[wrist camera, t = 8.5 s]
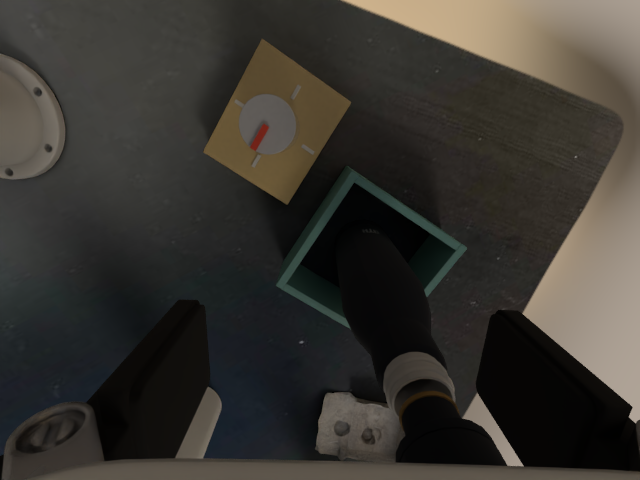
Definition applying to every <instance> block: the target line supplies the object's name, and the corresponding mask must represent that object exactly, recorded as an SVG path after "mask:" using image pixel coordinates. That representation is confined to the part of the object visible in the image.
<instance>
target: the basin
mask: <svg viewBox="0 0 640 480" xmlns="http://www.w3.org/2000/svg"><path fill="white" fill-rule="evenodd" d="M354 182H355V183H356V184H357V185H359V186H360V187H362V188H363V189H365V190H366V191H368V192H369V193H371V194H372V195H374V196H375V197H377V198H378V199H380V200H381V201H383V202H384V203H386V204H387V205H389V206H390V207H392V208H393V209H395V210H396V211H398V212H399V213H401V214H402V215H404V216H405V217H407V218H408V219H410V220H411V221H413V222H414V223H416V224H417V225H419V226H420V227H422V228H423V229H425V230H426V231H428V232H429V233H431V234H430V235H429V236H428V238H427V239H426V240H425V241H424V243H423V244H422V245H421V247H420V248H419V249H418V250H417V252H416V253H415V254H414V256H413V257H412V258H411V259H410V261H409V262H408V263H407V264H408V265H409V266H410V268H411V269H412V271H413V272H414V273H415V275H416V276H417V277H418V279H419V280H420V282H421V283H422V285H423V288H424V291H425V294H426V297H427V296H428V295H429V294H430V293H431V292H432V290H433V289H434V288H435V287H436V285H437V284H438V283H439V282H440V281H441V279H442V278H443V277H444V276H445V275H446V273H447V272H448V271H449V270H450V269H451V267H452V266H453V265H454V264H455V263H456V261H457V260H458V259H459V258H460V256H461V255H462V254H463V253H464V252H465V250H466V249H467V247H465V246H464V245H463V244H461V243H460V242H458V241H457V240H456V239H454V238H453V237H451V236H450V235H449V234H447V233H446V232H444V231H443V230H442V229H440V228H439V227H437V226H436V225H434V224H433V223H431V222H430V221H428V220H427V219H425V218H424V217H422V216H421V215H419V214H418V213H416V212H415V211H414V210H412V209H411V208H409V207H408V206H406V205H405V204H403V203H402V202H400V201H399V200H397V199H396V198H394V197H393V196H391V195H390V194H388V193H387V192H385V191H384V190H382V189H381V188H379V187H378V186H377V185H375V184H374V183H372V182H371V181H369V180H368V179H366V178H365V177H363V176H362V175H360V174H359V173H357V172H356V171H354V170H353V169H351V168H350V167H348V166H347V165H346V166H345V168H344V170H343V171H342V173H341V174H340V176H339V177H338V179H337V180H336V182H335V183H334V185H333V186H332V188H331V189H330V191H329V192H328V194H327V195H326V197H325V198H324V200H323V201H322V203H321V205H320V206H319V208H318V209H317V211H316V212H315V214H314V215H313V217H312V218H311V220H310V221H309V223H308V224H307V226H306V227H305V229H304V230H303V232H302V233H301V235H300V237H299V238H298V240H297V241H296V243H295V244H294V246H293V247H292V249H291V250H290V252H289V253H288V255H287V256H286V258H285V259H284V261H283V264H282V267H281V270H280V273H279V276H278V280H277V283H276V286H277V287H279V288H281V289H282V290H284V291H286V292H287V293H289V294H291V295H293V296H294V297H296V298H298V299H299V300H301V301H303V302H305V303H306V304H308V305H310V306H312V307H313V308H315V309H317V310H318V311H320V312H322V313H324V314H325V315H327V316H329V317H330V318H332V319H334V320H336V321H337V322H339V323H341V324H343V325H344V326H346V327H348V328H349V329H350V326H349V324H348V322H347V320H346V317H345V315H344V313H343V308H342V300H341V293H340V288H339V287H337V286H336V285H334V284H332V283H331V282H329V281H327V280H326V279H324V278H322V277H321V276H319V275H317V274H316V273H314V272H312V271H311V270H309V269H307V268H306V267H304V266H302V265H301V264H300V262H301V261H302V259H303V258H304V256H305V255H306V253H307V252H308V250H309V249H310V247H311V246H312V244H313V243H314V242H315V240H316V239H317V237H318V236H319V234H320V233H321V231H322V230H323V228H324V227H325V225H326V224H327V222H328V221H329V219H330V218H331V216H332V215H333V213H334V212H335V210H336V209H337V207H338V206H339V204H340V203H341V201H342V200H343V199H344V197H345V196H346V194H347V193H348V191H349V190H350V188H351V187H352V185H353V184H354Z"/></svg>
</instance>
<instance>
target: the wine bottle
mask: <svg viewBox="0 0 640 480" xmlns="http://www.w3.org/2000/svg"><path fill="white" fill-rule="evenodd" d="M335 255H336V262H337V270H338V278H339V285H340V293H341V300H342V308H343V313H344V315H345V317H346V320H347V322H348V324H349V326H350V329H351V331H352V332H353V334H354V336H355V338H356V339H357V340H358V341H359V343H360V344H361V345H362V346H363V347H364V348H365V349H366V350H367V352H368V353H369V354H370V355H371V357H372V361H373V365H374V370H375V374H376V378H377V381H378V383H379V386H380V388H381V389H382V390H383V392H384V393H385V395H386V401H387V404H388V406H389V408H390V410H391V411H392V412H393V413H394V415H395V417H396V418H397V419H398V420H399V422H400V425H401V427H402V430H403V431H404V433H405V437H404V438H403V439H402V440H401V441H400V443H399V446H398V448H397V450H396V463H426V464H461V465H492V466H507V464H506V462H505V461H504V459H503V457H502V455H501V454H500V452H499V450H498V449H497V447H496V445H495V444H494V442H493V440H492V438H491V437H490V435H489V434H488V433H487V432H486V431H485V430H484V429H483V427H481V426H479V425H477V424H476V423H474V422H472V421H470V420H466V419H461V417H460V415H459V411H458V408H457V405H456V404H455V395H454V386H453V383H452V380H451V379H450V378H449V376H448V374H447V366H446V363H445V360H444V357H443V355H442V354H441V352H440V350H439V348H438V347H437V345H436V343H435V341H434V340H433V338H432V336H431V312H430V308H429V304H428V300H427V297H426V294H425V291H424V288H423V285H422V283H421V282H420V280H419V279H418V277H417V276H416V275H415V273H414V272H413V271H412V269H411V268H410V266H409V265H408V264H407V262H406V261H405V259H404V258H403V257H402V255H401V254H400V252H399V251H398V250H397V248H396V247H395V246H394V244H393V243H392V241H391V240H390V239H389V237H388V236H387V234H386V233H385V232H384V230H383V229H382V228H381V227H380V226H379V225H377V224H376V223H374V222H372V221H368V220H356V221H353V222H351V223H348V224H347V225H346V226H344V227H343V228H342V229H341V230H340V232H339V233H338V235H337V237H336V240H335Z"/></svg>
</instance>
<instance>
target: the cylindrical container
mask: <svg viewBox="0 0 640 480" xmlns="http://www.w3.org/2000/svg"><path fill="white" fill-rule="evenodd" d="M221 407H222V406H221V400H220V398H219V396H218V395H217V393H216V392H215V391H214V390H213V389H211V388H209V387H207V390H206V392H205V394H204V396H203V398H202V400H201V403H200V405H199V407H198V409H197V411H196V414H195V416H194V418H193V420H192V422H191V424H190V427H189V429H188V431H187V433H186V435H185V438H184V440H183V442H182V444H181V446H180V449H179V451H178V453H177V455H176V457H175V458H199V459H203V457H204V454H205V451H206V449H207V446H208V443H209V441H210V438H211V435H212V433H213V430H214V427H215V425H216V422H217V419H218V417H219V414H220V411H221Z"/></svg>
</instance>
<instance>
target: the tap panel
mask: <svg viewBox="0 0 640 480" xmlns="http://www.w3.org/2000/svg"><path fill="white" fill-rule="evenodd" d="M260 94H272V95H276V96H278V97H280V98H281V99H283V100H284V101H285V102H286V103H287V104H288V105H289V106H290V107H291V108H292V109H293V111H294V112H295V114H296V115H297V117H298V120H299V125H300V131H299V136H298V139H297V141H296V142H295V144H294V145H293V146H292V147H291V148H290V149H288V150H286V151H284V152H281V153H276V154H268V155H267V154H261V153H258V152H256V151H254V150H253V149H251V148H250V147H249V146H248V145H247V144H246V143H245V141H244V140H243V138H242V136H241V133H240V130H239V116H240V112H241V110H242V108H243V106H244V105H245V103H246V102H247V101H248V100H250V99H251V98H252V97H254V96H256V95H260ZM350 104H351V102H350V101H349V100H347V99H346V98H345V97H343V96H342V95H340V94H339V93H338V92H336V91H335V90H333V89H332V88H331V87H329V86H328V85H327V84H325V83H324V82H322V81H321V80H320V79H318V78H317V77H315V76H314V75H313V74H311V73H310V72H308V71H307V70H306V69H304V68H303V67H301V66H300V65H299V64H297V63H296V62H294V61H293V60H292V59H290V58H289V57H287V56H286V55H285V54H283V53H282V52H280V51H279V50H278V49H276V48H275V47H273V46H272V45H271V44H269V43H268V42H266V41H265V40H264V39H262V40H261V42H260V43H259V45H258V47H257V49H256V51H255V53H254V55H253V57H252V59H251V61H250V63H249V65H248V66H247V68H246V70H245V72H244V74H243V76H242V78H241V80H240V82H239V84H238V86H237V88H236V89H235V91H234V93H233V95H232V97H231V99H230V101H229V103H228V105H227V107H226V109H225V111H224V112H223V114H222V116H221V118H220V120H219V122H218V124H217V126H216V128H215V130H214V132H213V134H212V136H211V137H210V139H209V141H208V143H207V145H206V147H205V149H204V151H203V152H204V153H205V154H207V155H209V156H210V157H212V158H213V159H215V160H216V161H218V162H220V163H221V164H223V165H224V166H226V167H228V168H229V169H231V170H232V171H234V172H236V173H237V174H239V175H240V176H242V177H243V178H245V179H247V180H248V181H250V182H251V183H253V184H255V185H256V186H258V187H259V188H261V189H262V190H264V191H266V192H267V193H269V194H270V195H272V196H274V197H275V198H277V199H278V200H280V201H282V202H283V203H285V204H286V205H288V203H289V202H290V200H291V198H292V197H293V195H294V194H295V192H296V191H297V189H298V187H299V186H300V184H301V183H302V181H303V179H304V178H305V176H306V175H307V173H308V171H309V170H310V168H311V167H312V165H313V163H314V162H315V160H316V159H317V157H318V155H319V154H320V152H321V151H322V149H323V147H324V146H325V144H326V143H327V141H328V139H329V138H330V136H331V135H332V133H333V131H334V130H335V128H336V127H337V125H338V123H339V122H340V120H341V119H342V117H343V115H344V114H345V112H346V111H347V109H348V107H349V106H350Z"/></svg>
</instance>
